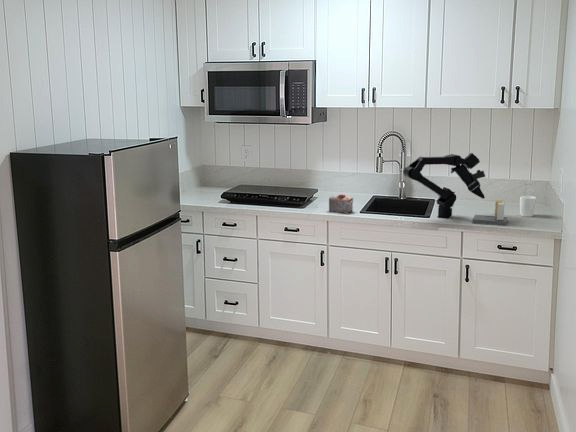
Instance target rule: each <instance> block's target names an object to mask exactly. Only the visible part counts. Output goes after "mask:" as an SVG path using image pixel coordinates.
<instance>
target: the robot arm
mask: <svg viewBox="0 0 576 432" xmlns="http://www.w3.org/2000/svg"><path fill="white" fill-rule="evenodd" d="M479 163H480V159H479V158H478V157H477V156H476V155H475V154H474V153H472V152H471V153H469V154H468V155H467V156H465V158H463V157H462V156H461V155H458V154H454V153H451V154H447V155H443V156H419V157H418V158H417V159H415V160H414V161H413V162H411V163H410V164H409V165H407V166H406V167H405V168H404V169H403V176H404V177H406V178H408V179H411V180H414V181H415V182H418V183H419V184H421V185H422V186H424V187H425V188H427V189H429V191H431V192H433V193H435V194H436V195H437V196H438V199H437V200H436V205H438V206H437V207H438V209H437V210H438V211H437V216H436V217H437V218H438V219H439V218H441V219H442V218H443V219H451V218H452V217H453V207H454V205H455V202H456V200H457V195H456V191H452V190H451V189H450V188H448V187H444V186H443V187H440V186H439V185H437V184H436V183H434V182H433V181H431V180H430V179H429V178H426V177H425V176H423V174H422V170H423V169H424V167H425V166H428V165H447V166H452V167H451V168H450V174H453V173H454V172H455V174H456V175H457V176H458V177H459V178H460V180H461V181H462V182H463V183H464V184H465V186H466V187H467V190H468V191H469V192H470V193H472V194H473V195H475V196H477V197H479V198H481V199H485V198H486V197H485V194H484V193H483V191H482V188H481V183H480V181H479V180H478V179H481V178H485V177H486V174H485V171H484V170H480V169H477V170H476V172H475V173H472V172H470V170H472V169H473V168H474V167H476V166H477V165H478V164H479Z"/></svg>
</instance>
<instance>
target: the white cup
mask: <svg viewBox="0 0 576 432" xmlns="http://www.w3.org/2000/svg"><path fill="white" fill-rule="evenodd" d="M536 200H537V197H536V196H532V195H521V196H520V197H519V216H521V217H527V218H528V217H529V218H531V217H534V214H535V208H536Z"/></svg>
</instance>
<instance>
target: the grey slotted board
mask: <svg viewBox="0 0 576 432" xmlns="http://www.w3.org/2000/svg"><path fill="white" fill-rule="evenodd" d="M508 219H509V218H508V216H504V219H503V220H497V217H495V215H486V214H475V215H474V216H473V217H472V221H471V224H480V225H489V226H490V225H494V226H504V227H505V226H506V225H507V223H508Z"/></svg>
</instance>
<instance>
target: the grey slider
mask: <svg viewBox="0 0 576 432" xmlns="http://www.w3.org/2000/svg"><path fill="white" fill-rule="evenodd" d="M504 217H505V202H502V203H498V206H497V220H503V219H504Z"/></svg>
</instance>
